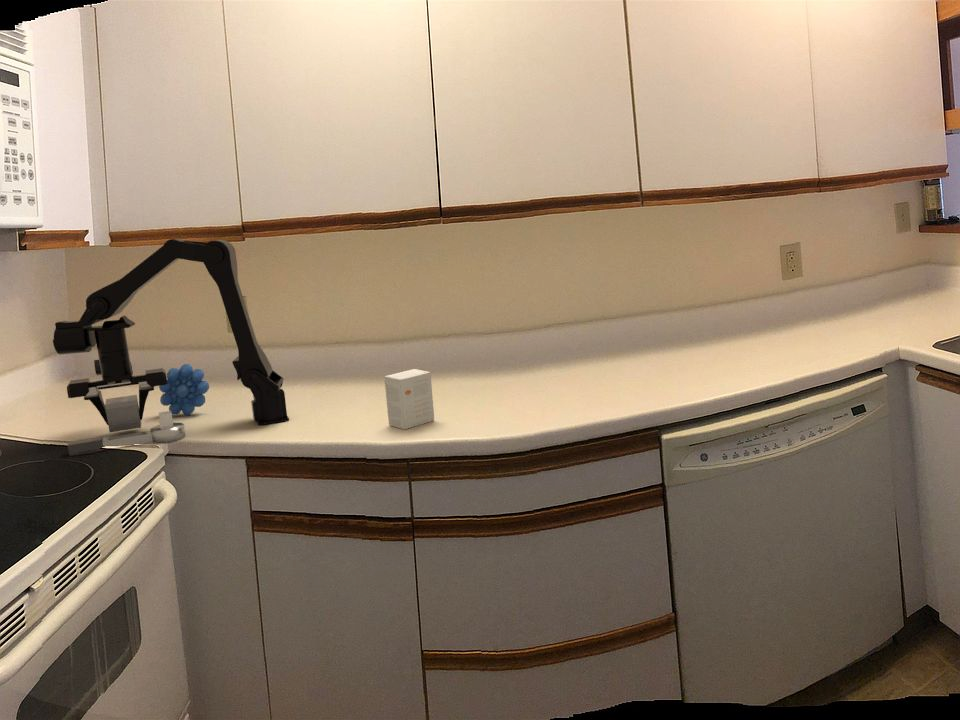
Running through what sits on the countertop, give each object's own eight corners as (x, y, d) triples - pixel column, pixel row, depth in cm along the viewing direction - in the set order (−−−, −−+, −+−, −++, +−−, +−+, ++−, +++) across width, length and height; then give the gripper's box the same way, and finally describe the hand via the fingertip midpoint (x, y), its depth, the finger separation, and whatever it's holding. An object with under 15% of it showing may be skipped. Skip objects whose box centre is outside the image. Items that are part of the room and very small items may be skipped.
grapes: (219, 408, 174) (212, 359, 171) (208, 416, 167) (201, 364, 165) (170, 411, 174) (163, 361, 172) (158, 419, 168) (150, 367, 165)
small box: (418, 416, 156) (414, 368, 154) (435, 421, 152) (431, 371, 150) (387, 425, 151) (383, 375, 149) (404, 430, 147) (399, 379, 145)
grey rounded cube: (141, 421, 161) (136, 394, 159) (141, 427, 155) (136, 400, 154) (110, 425, 158) (106, 398, 157) (109, 432, 153) (104, 404, 152)
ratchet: (184, 432, 156) (180, 407, 155) (186, 439, 150) (182, 413, 149) (71, 450, 147) (67, 424, 146) (68, 459, 142) (63, 432, 141)
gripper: (160, 339, 164) (170, 406, 167) (66, 350, 157) (78, 420, 160) (161, 346, 154) (172, 417, 157) (60, 358, 147) (74, 433, 150)
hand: (125, 422), depth 156 cm, fingers closed on grey rounded cube, 6 cm apart
